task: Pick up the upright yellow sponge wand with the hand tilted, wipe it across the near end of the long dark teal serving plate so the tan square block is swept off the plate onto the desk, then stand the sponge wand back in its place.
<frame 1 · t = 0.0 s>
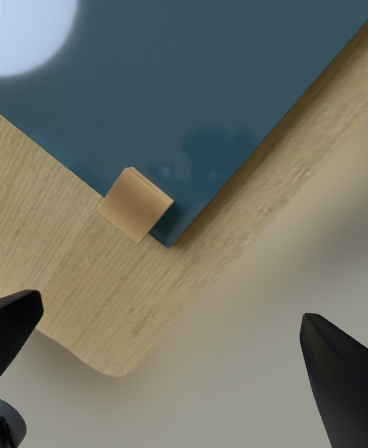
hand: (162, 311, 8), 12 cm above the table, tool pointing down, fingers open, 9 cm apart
tan square block: (138, 203, 19), point 1 cm above the table, touching plate
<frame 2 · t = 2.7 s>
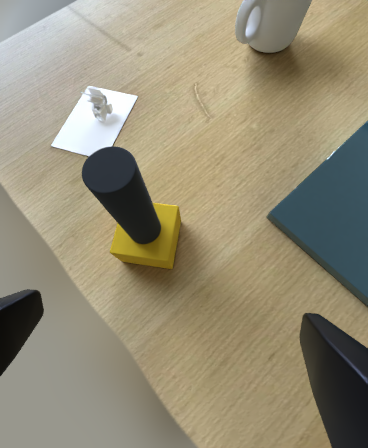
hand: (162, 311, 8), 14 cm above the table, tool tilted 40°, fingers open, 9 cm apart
cup: (260, 47, 33), on the table
white plastic small piece: (96, 121, 30), on the table
sponge wand: (152, 240, 24), on the table
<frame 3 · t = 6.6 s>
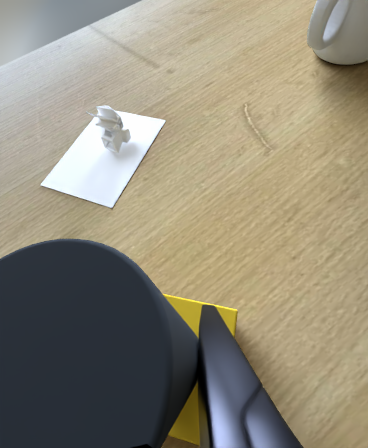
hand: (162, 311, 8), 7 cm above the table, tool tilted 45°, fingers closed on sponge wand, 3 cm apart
cup: (332, 59, 25), on the table
white plastic small piece: (107, 152, 22), on the table
sponge wand: (180, 357, 13), on the table, touching gripper
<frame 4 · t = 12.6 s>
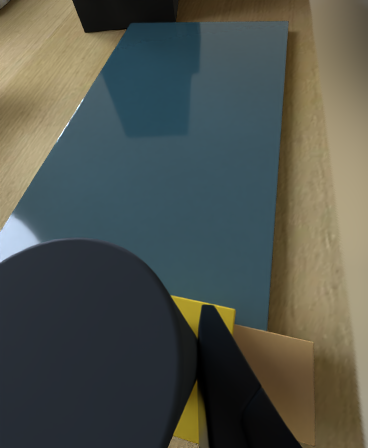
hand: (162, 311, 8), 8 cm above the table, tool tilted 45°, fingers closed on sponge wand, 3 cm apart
plate: (168, 137, 23), on the table
sponge wand: (177, 356, 13), point 1 cm above the table, touching gripper
tan square block: (262, 375, 13), point 1 cm above the table
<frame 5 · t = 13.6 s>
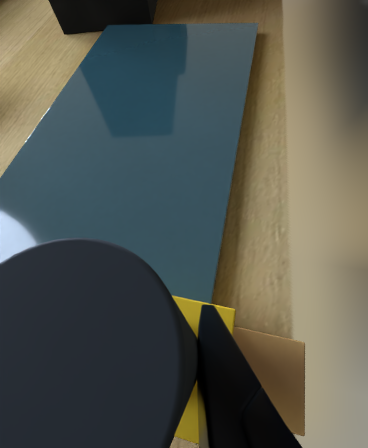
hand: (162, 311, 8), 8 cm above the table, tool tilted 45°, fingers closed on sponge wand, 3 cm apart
plate: (135, 136, 24), on the table
sponge wand: (177, 356, 13), point 1 cm above the table, touching tan square block, gripper
tan square block: (258, 373, 14), on the table, touching sponge wand
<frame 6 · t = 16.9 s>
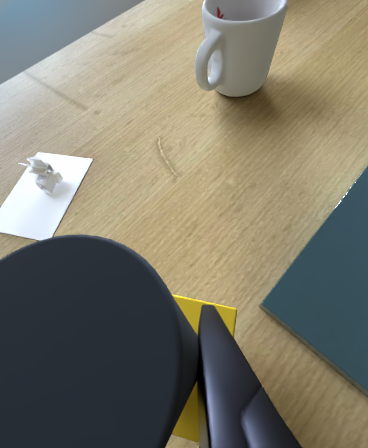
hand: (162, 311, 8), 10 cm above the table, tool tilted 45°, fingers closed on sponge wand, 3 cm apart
cup: (229, 91, 30), on the table
white plastic small piece: (43, 193, 25), on the table
sponge wand: (179, 355, 13), point 4 cm above the table, touching gripper
when the fingers open (7 cm above the table, at t = 19.3 s): sponge wand stays where it is, on the table.
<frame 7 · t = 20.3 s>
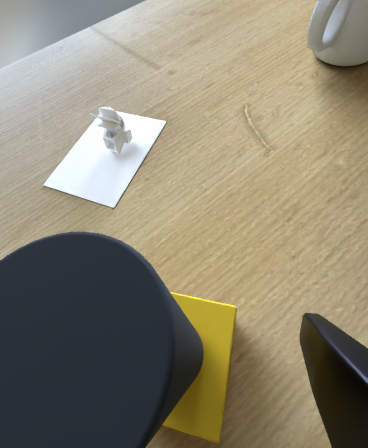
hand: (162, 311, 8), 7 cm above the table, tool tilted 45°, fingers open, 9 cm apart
cup: (331, 60, 25), on the table
white plastic small piece: (108, 153, 22), on the table
sponge wand: (180, 352, 14), on the table
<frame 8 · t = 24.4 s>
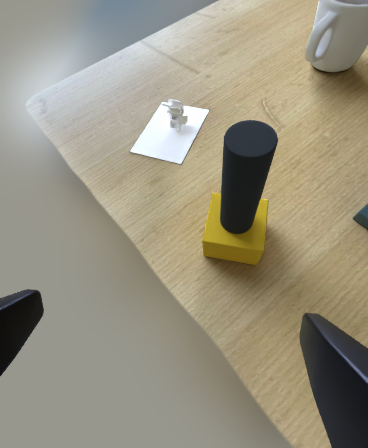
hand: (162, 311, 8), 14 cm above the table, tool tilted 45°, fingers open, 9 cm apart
cup: (323, 68, 35), on the table
white plastic small piece: (171, 131, 32), on the table
sponge wand: (233, 237, 24), on the table
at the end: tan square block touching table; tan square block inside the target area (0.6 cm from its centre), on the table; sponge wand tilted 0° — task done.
